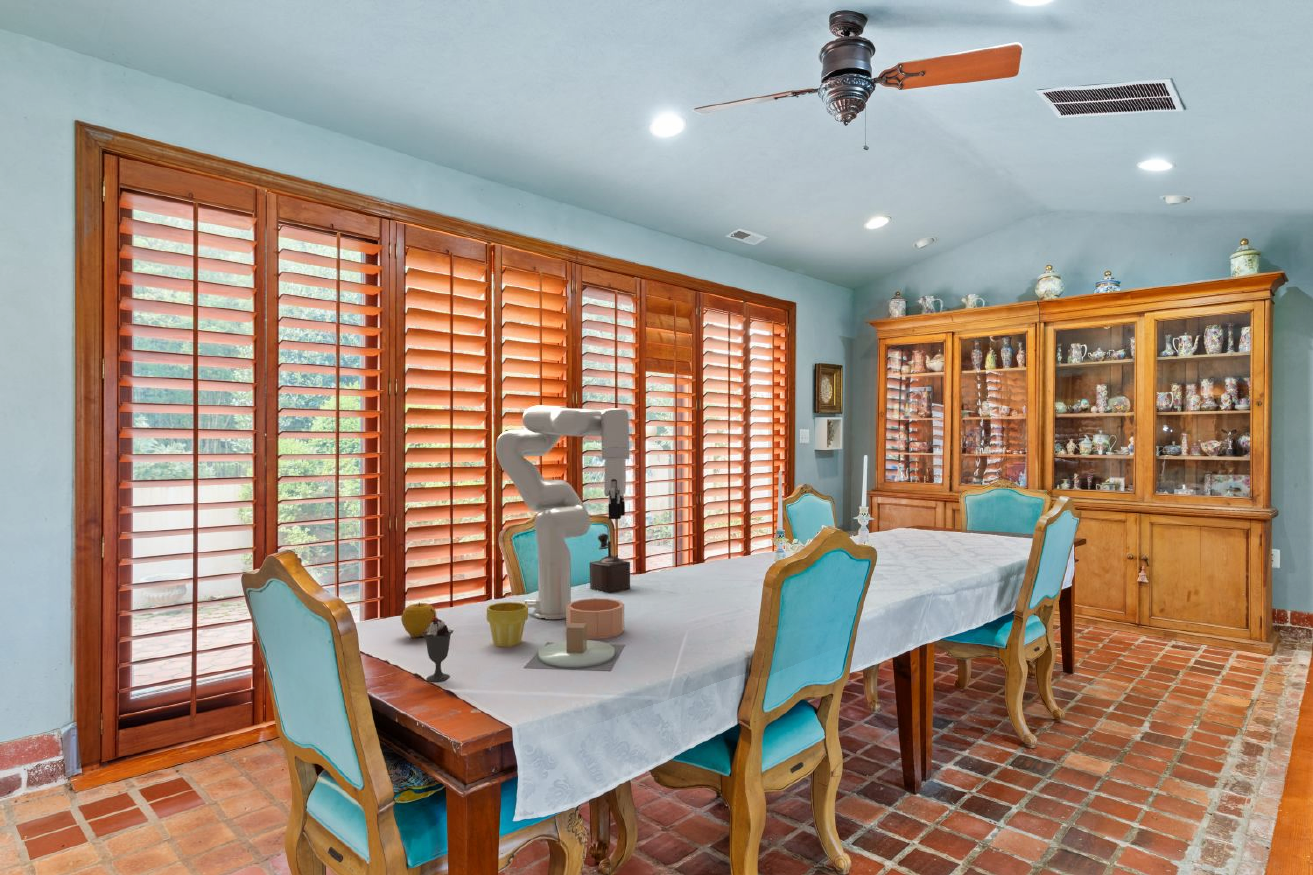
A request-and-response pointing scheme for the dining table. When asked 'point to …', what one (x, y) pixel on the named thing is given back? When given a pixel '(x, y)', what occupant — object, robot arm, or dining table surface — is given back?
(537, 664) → the mat
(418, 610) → the apple
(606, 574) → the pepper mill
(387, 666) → the dining table surface
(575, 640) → the lid
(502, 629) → the plant pot
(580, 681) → the dining table surface
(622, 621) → the bowl
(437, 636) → the sundae
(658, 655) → the dining table surface
